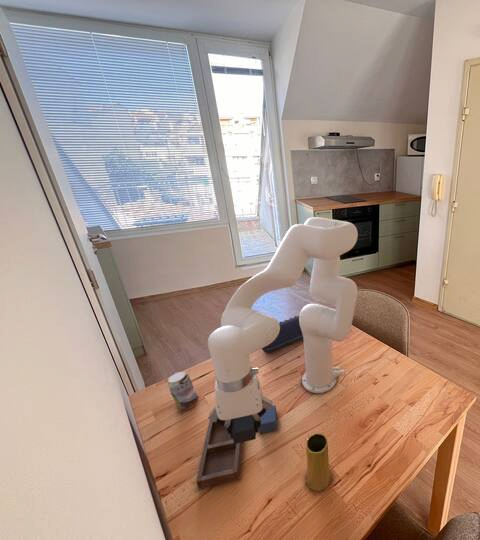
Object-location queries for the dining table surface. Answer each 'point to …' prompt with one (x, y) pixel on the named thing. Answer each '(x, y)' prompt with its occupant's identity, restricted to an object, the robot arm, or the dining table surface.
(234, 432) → the dark grey rectangular block
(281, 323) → the portable speaker
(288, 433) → the dining table surface
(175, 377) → the beverage can
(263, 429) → the blue rectangular block
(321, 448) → the vase
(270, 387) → the dining table surface
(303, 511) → the dining table surface
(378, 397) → the dining table surface
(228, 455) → the brown divided wooden tray
